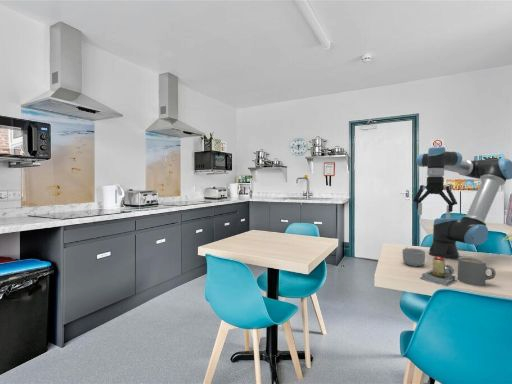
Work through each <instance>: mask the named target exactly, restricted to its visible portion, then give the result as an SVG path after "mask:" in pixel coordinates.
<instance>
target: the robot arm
mask: <svg viewBox="0 0 512 384" xmlns="http://www.w3.org/2000/svg"><path fill="white" fill-rule="evenodd" d="M415 161H416V162H415V163H416V165H417V166H418V167H422V168H424V167H425V168H426V167H427V168H426V169H427V170H426V171H427V172H426V176H427V177H426V185H424V184H423V185H422V184H421V185H420V186H419V189H418V191H417V192H416V194H415V197H413V200H412V201H413V202H414V203H416V209H417V216H422V214H423V203H422V202H423V200H425V199H426V198H427V197H428V196H429V195H439V196H441V198H442V199H443V200H444V201H445V202H446V204H447V205H446V214H445V217H444V218H443V217H439V218H435V219H434V220H433V227H432V230H433V232H432V233H433V235H432V243H431V245H430V247H429V250H428V255H430V256H433V257H434V256H440V257H444V258H445V259H446V260H447V259H450V260H457V259H458V258H459V257H460V253H459V251H458V248H457V242H458V243H463V244H467V245H471V246H472V245H473V246H479V245H481V244H484V243H485V241H486V240H487V239H488V236H489V229H488V226H487V224H486V222H485V221H486V218H487V216H488V214H489V211H490V209H491V207H492V205H493V203H494V200H495V197H496V196H497V194H498V191H499V189H500V187H501V186H504V185H505V184H506V182H507V180H512V160H511V159H509V158H496V159H478V160H477V159H475V160H469V159H464V160H463V155H462V154H461V153H460V152H457V151H446V147H445V146H431V147H429V148H428V151H427V153H420V154H419V155H417V156H416V160H415ZM445 171H448V172H453V173H458V175H460V176H464V177H468V178H471V179H477V180H480V181H481V182H480V184H479V187H478V189H477V190H476V193H475V195H474V197H473V200H472V201H471V204H470V206H469V208H468V210H467V212H466V215H464V216H462V217H461V219H460V221H458V219H457V218H454V217H451V213H452V212H453V208H454V206H455V205H458V201H457V200H456V197H455V196H454V194H453V191H452V187H451V186H450V185H446V186H444V184H445V183H444V181H445V178H444V176H445ZM425 189H426V191H425V192H424V190H425ZM444 190H445V191H446V193H447V195H448V196H447V195H446V194H445V192H444ZM423 192H424V193H423ZM422 193H423V194H422Z"/></svg>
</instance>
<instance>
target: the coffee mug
mask: <svg viewBox="0 0 512 384" xmlns="http://www.w3.org/2000/svg"><path fill="white" fill-rule="evenodd" d="M457 259H458V262H457V277H456V280H457V281H458V282H461V283H463V284H465V285H466V284H467V285H470V286H477V287H478V286H479V287H480V286H485V284H486V283H485V282H486V281H488V280H493V279H495V277H496V275H497V271H496V269H495V267H493V266H490V265H487V261H485V260H484V259H481V258H477V257H470V256H469V257H468V256H459V258H457ZM488 270H491V274H490V275H487V271H488Z"/></svg>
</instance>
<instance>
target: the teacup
mask: <svg viewBox="0 0 512 384" xmlns="http://www.w3.org/2000/svg"><path fill="white" fill-rule="evenodd" d="M402 260H403V262H404V263H405V264H406V265H408V266H411V267H421V266H422V265H424V264H425V261H426V251H425V250H423V249H420V248H414V247H412V248H411V247H404V248H403V249H402Z"/></svg>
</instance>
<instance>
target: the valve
mask: <svg viewBox="0 0 512 384" xmlns="http://www.w3.org/2000/svg"><path fill="white" fill-rule="evenodd" d="M446 260H447V259H446V258H444V257H440V256H433V259H432V270H433V271H432V275H431V276H435V277H439V278H443V279H445V278H446V277H445V266H446Z"/></svg>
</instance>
